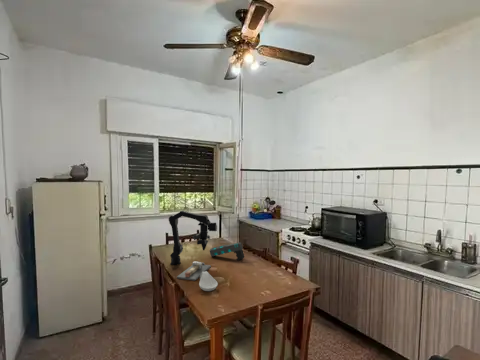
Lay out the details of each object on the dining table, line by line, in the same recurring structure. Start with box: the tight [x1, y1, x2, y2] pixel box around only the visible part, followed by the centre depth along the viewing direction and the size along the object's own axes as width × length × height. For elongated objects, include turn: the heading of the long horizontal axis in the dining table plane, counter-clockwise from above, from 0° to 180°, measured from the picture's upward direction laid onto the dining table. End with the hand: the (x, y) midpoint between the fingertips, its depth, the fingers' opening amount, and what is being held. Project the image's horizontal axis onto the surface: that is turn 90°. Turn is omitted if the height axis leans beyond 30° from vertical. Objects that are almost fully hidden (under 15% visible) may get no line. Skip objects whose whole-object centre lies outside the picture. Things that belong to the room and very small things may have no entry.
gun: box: [209, 241, 245, 261], centre depth 228 cm, size 7×29×15 cm, turn 73°
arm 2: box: [187, 262, 203, 277], centre depth 191 cm, size 22×1×2 cm, turn 163°
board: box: [176, 264, 212, 281], centre depth 194 cm, size 14×28×1 cm, turn 164°
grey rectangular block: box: [191, 261, 202, 270], centre depth 197 cm, size 3×6×5 cm, turn 74°
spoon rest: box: [198, 270, 219, 292], centre depth 171 cm, size 24×12×7 cm, turn 20°
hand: (203, 250), depth 209 cm, fingers closed
